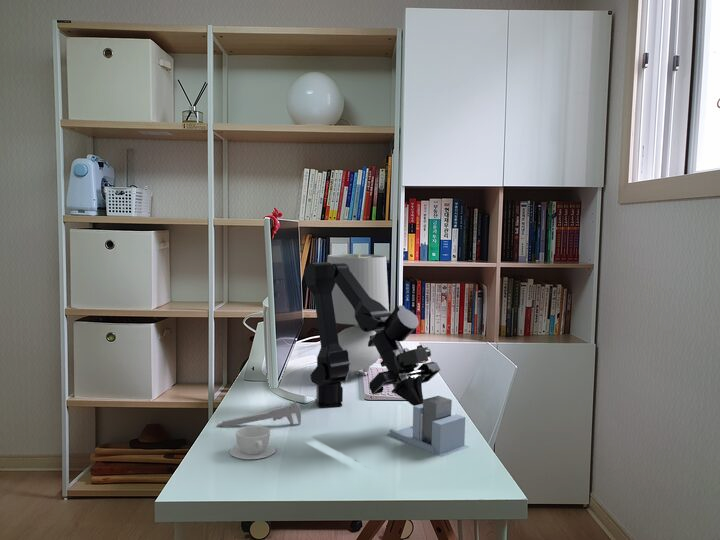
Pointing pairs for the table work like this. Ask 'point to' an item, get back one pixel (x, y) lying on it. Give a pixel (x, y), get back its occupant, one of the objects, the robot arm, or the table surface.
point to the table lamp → (354, 339)
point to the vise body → (439, 435)
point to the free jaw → (417, 421)
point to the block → (434, 414)
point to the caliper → (267, 416)
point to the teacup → (252, 443)
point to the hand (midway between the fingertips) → (422, 409)
